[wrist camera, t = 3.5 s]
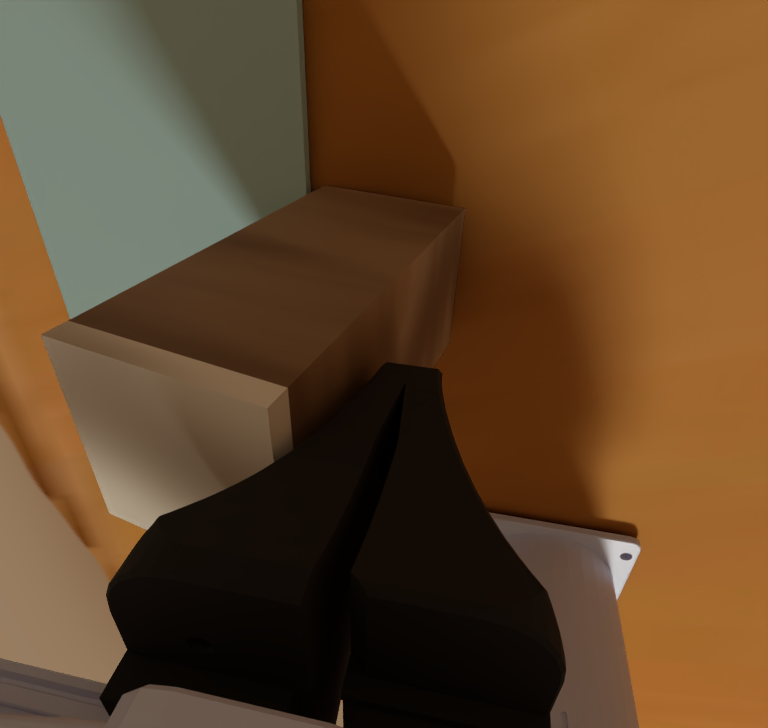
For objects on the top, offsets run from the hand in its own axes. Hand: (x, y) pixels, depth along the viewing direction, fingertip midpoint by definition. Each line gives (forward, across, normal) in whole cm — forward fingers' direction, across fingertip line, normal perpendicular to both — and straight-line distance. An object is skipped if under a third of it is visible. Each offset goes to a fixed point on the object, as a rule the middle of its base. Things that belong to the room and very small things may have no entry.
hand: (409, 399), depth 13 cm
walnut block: (+7, +2, 0) cm, 8 cm away
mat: (+8, +10, -1) cm, 13 cm away
